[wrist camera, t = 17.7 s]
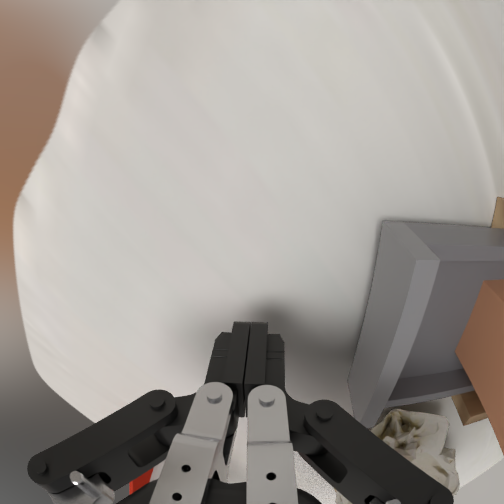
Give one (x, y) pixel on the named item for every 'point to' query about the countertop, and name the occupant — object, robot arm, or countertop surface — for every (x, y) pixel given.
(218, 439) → the robot arm
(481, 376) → the tin
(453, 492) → the anatomical model
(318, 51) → the countertop surface
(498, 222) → the dock
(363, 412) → the tray
